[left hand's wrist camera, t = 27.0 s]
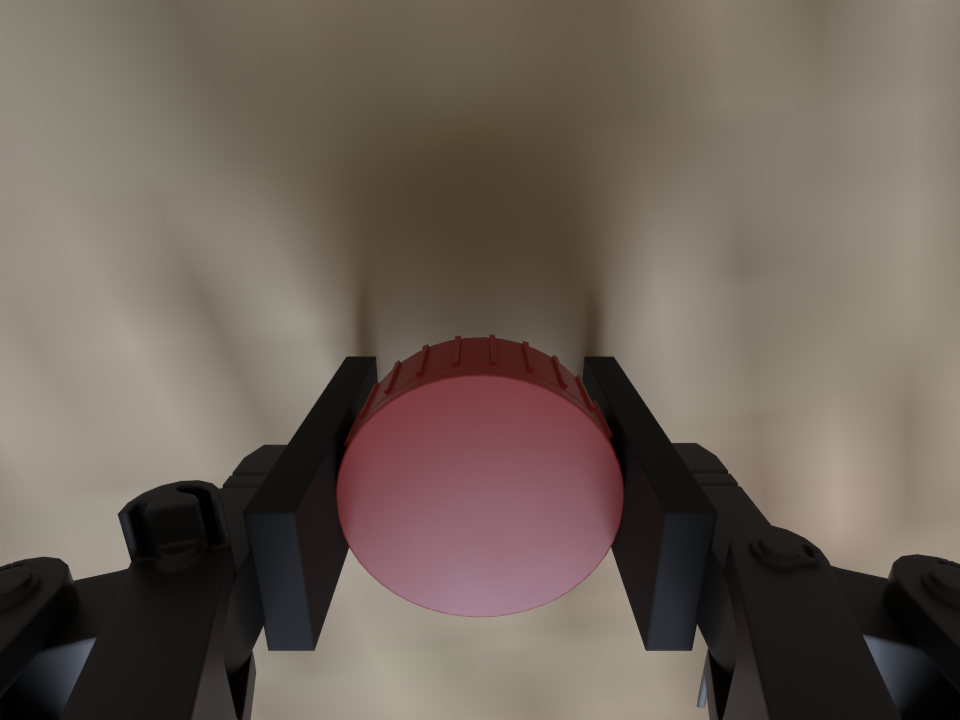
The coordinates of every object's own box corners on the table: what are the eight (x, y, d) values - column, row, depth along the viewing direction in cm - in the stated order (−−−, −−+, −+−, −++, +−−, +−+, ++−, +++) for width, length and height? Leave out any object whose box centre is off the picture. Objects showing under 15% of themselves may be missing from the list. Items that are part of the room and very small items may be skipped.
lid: (377, 560, 13) (359, 630, 11) (332, 345, 11) (301, 385, 9) (606, 542, 13) (628, 610, 11) (602, 320, 11) (628, 355, 9)
